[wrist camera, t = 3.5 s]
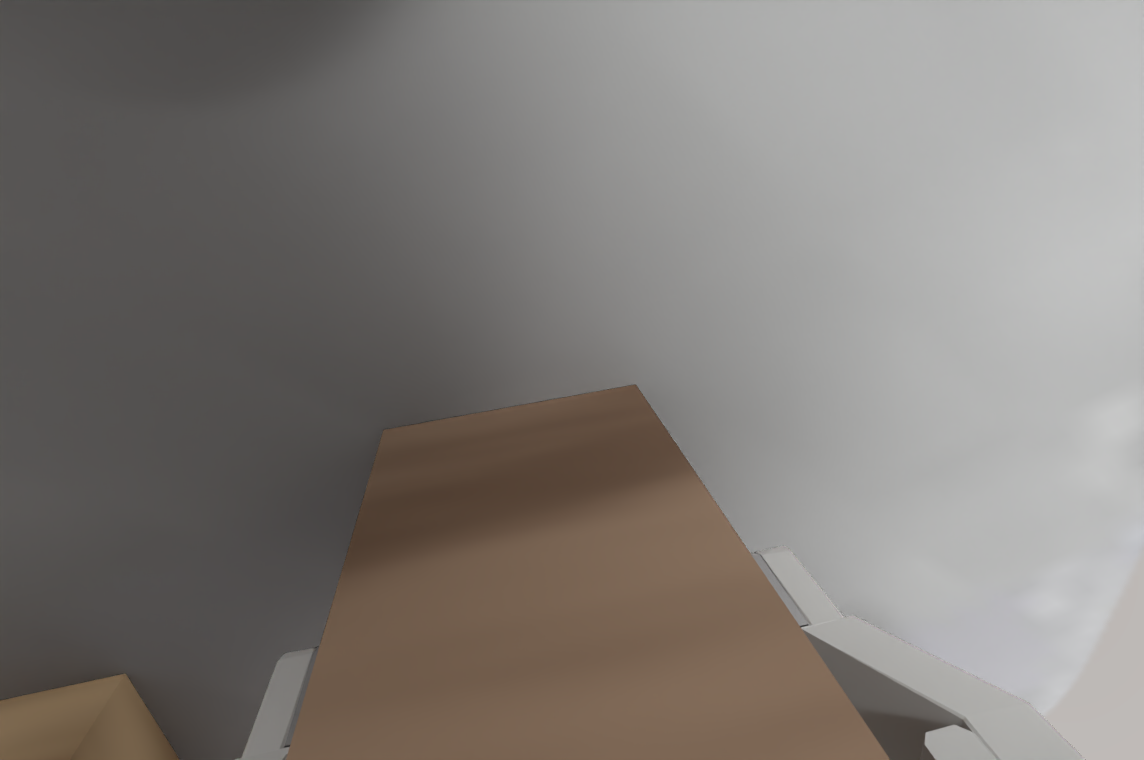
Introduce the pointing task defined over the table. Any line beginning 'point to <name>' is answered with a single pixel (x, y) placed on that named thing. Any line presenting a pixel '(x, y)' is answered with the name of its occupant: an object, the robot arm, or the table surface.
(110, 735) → the oak base block
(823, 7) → the table surface
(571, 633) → the walnut block
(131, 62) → the table surface
